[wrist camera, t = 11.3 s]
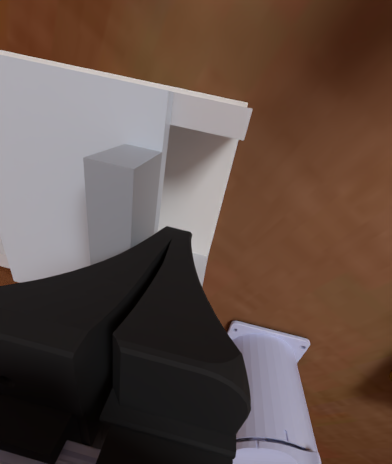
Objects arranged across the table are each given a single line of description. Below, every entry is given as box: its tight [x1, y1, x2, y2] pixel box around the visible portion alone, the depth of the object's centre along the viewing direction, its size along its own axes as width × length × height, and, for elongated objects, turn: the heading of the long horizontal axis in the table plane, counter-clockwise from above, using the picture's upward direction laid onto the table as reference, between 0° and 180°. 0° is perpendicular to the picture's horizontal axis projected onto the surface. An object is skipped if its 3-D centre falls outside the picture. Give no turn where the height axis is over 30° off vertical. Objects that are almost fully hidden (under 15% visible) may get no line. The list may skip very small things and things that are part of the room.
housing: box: [0, 50, 252, 286], centre depth 15 cm, size 13×18×6 cm
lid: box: [0, 55, 174, 283], centre depth 11 cm, size 12×9×4 cm
